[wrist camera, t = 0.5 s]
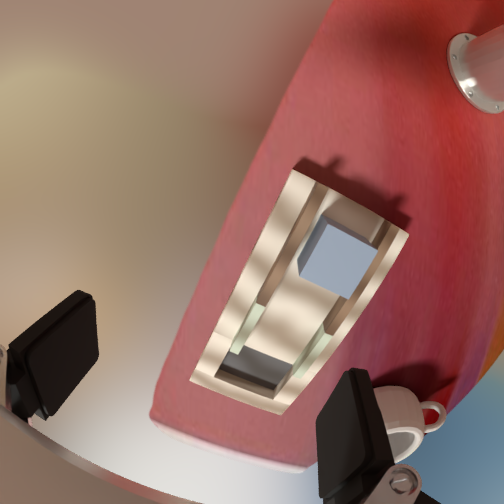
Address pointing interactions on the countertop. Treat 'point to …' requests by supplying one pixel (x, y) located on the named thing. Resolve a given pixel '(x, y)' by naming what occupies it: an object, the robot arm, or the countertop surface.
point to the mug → (405, 419)
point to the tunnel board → (290, 301)
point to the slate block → (335, 257)
